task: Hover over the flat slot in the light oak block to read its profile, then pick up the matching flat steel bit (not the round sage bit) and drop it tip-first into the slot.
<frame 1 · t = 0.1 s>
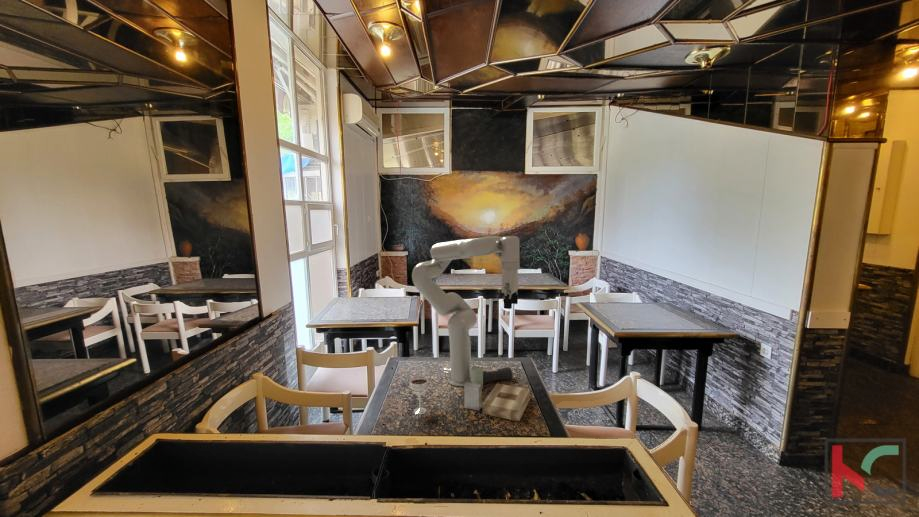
hand: (510, 306, 143), 37 cm above the table, fingers open, 9 cm apart
socket block: (507, 405, 132), on the table
flashlight: (496, 381, 155), on the table
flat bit: (473, 407, 132), on the table
wineglass: (420, 411, 130), on the table
round bit: (477, 388, 147), on the table
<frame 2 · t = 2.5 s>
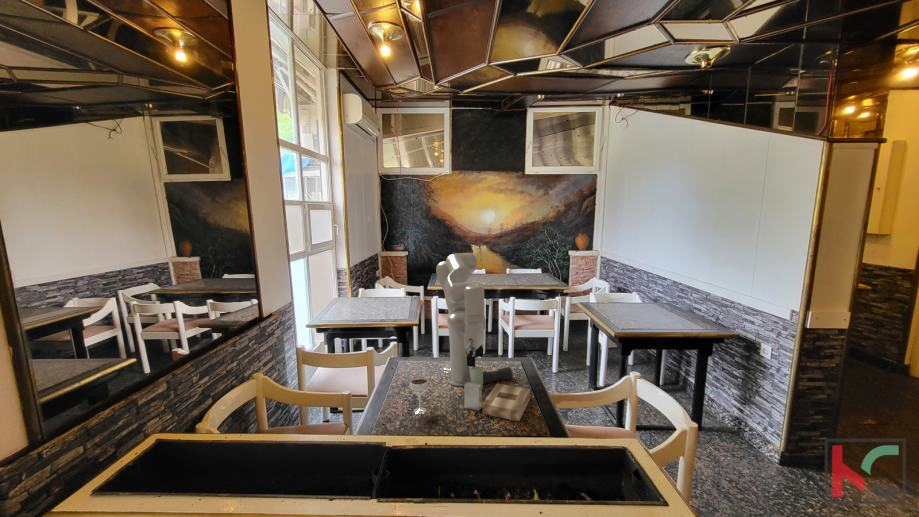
hand: (475, 361, 130), 18 cm above the table, fingers open, 9 cm apart
nothing on the table moved.
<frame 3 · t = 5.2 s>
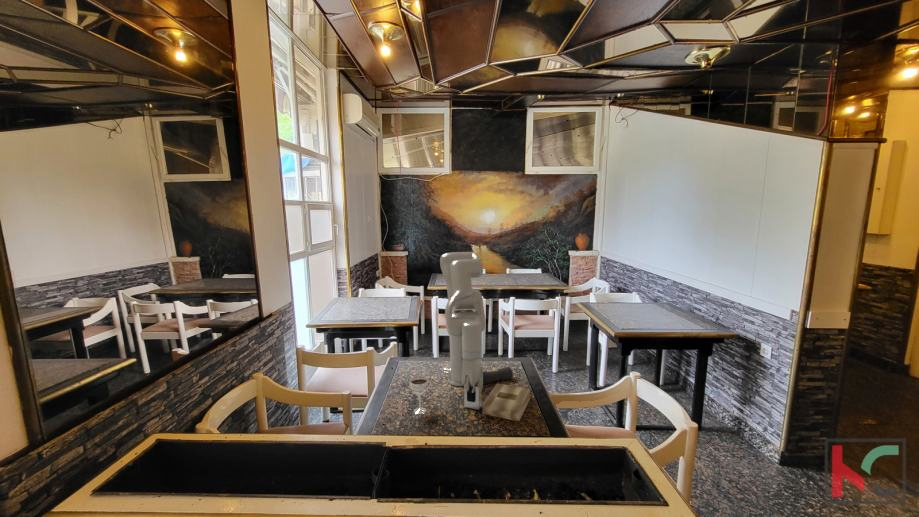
hand: (472, 398, 132), 3 cm above the table, fingers closed on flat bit, 3 cm apart
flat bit: (473, 406, 132), on the table, touching gripper
everything else where it was.
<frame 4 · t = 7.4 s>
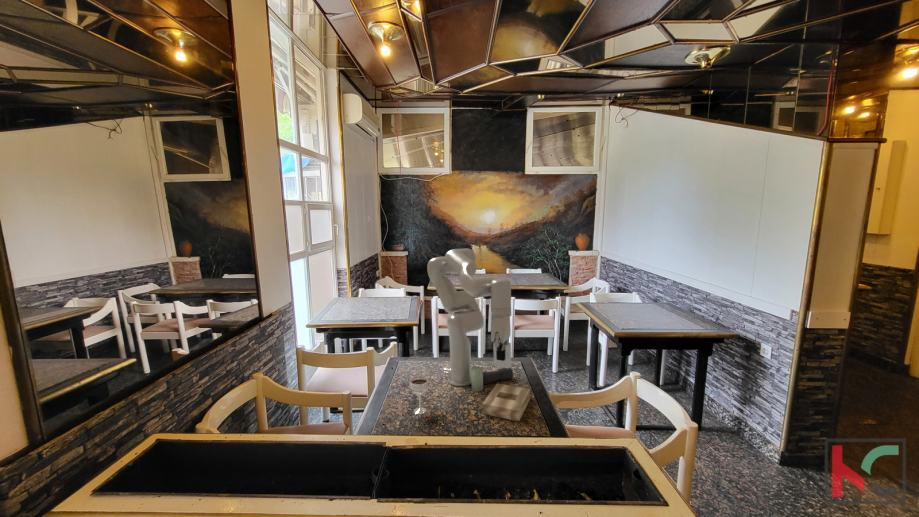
hand: (502, 357, 130), 19 cm above the table, fingers closed on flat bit, 3 cm apart
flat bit: (502, 365, 130), point 16 cm above the table, touching gripper
everything else where it was.
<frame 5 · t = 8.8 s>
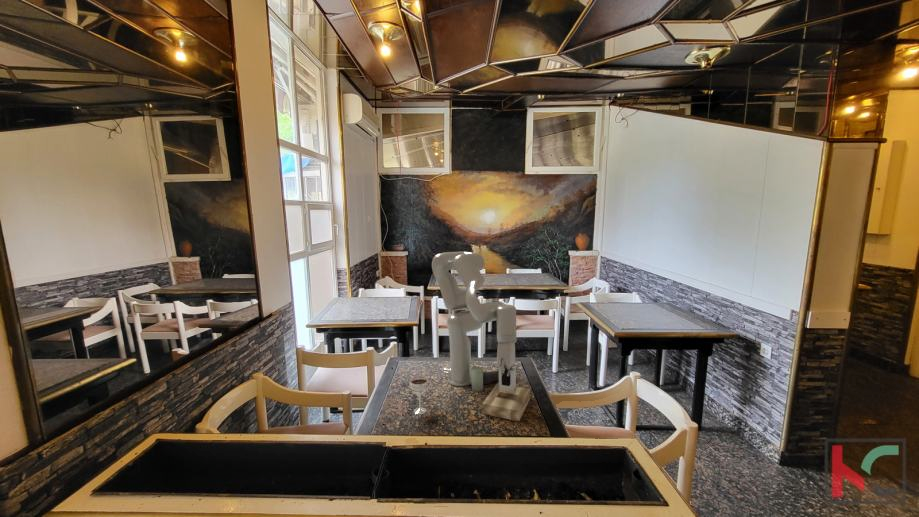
hand: (507, 382, 131), 9 cm above the table, fingers closed on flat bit, 3 cm apart
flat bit: (507, 390, 131), point 6 cm above the table, touching gripper
everything else where it was.
when the fingers open (5 cm above the table, at t = 10.1 s): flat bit drops 2 cm, resting in socket block.
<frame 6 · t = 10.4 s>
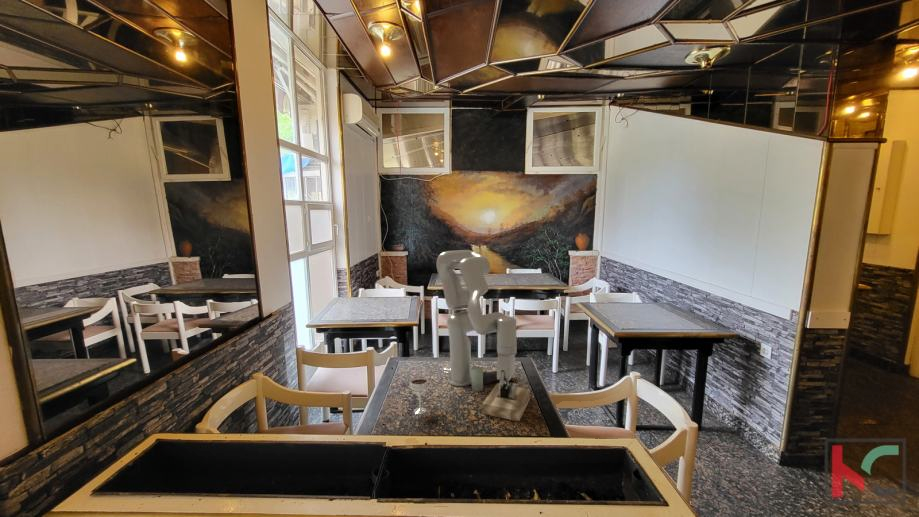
hand: (507, 393, 132), 5 cm above the table, fingers open, 6 cm apart
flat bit: (507, 405, 132), resting in socket block
everything else where it was.
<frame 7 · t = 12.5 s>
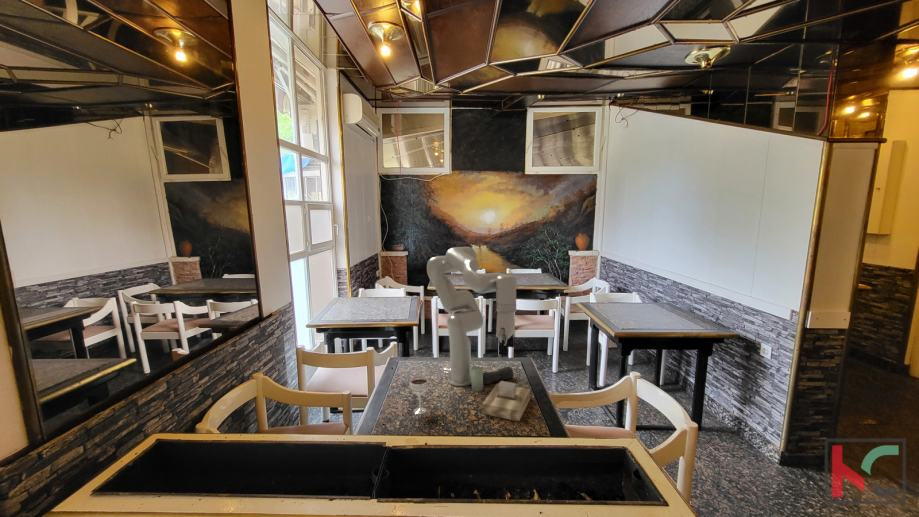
hand: (506, 350, 130), 22 cm above the table, fingers open, 9 cm apart
nothing on the table moved.
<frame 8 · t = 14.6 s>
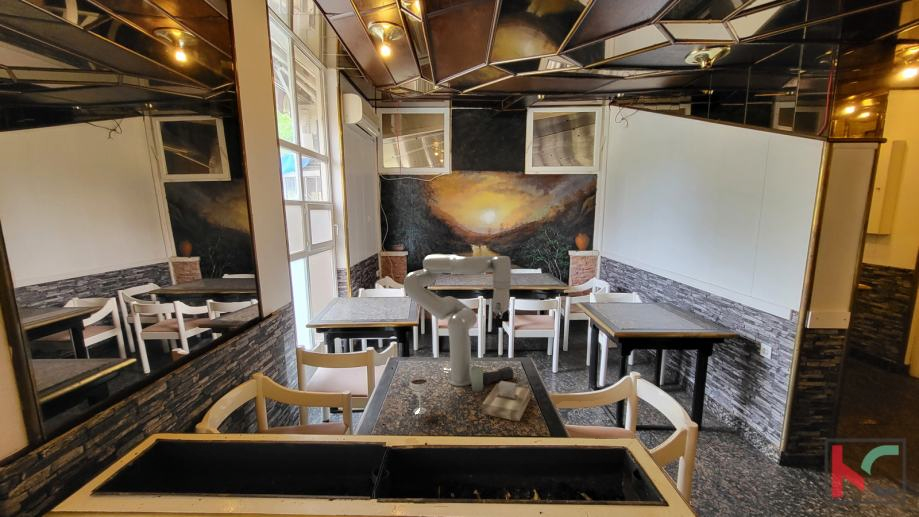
hand: (502, 324, 145), 28 cm above the table, fingers open, 9 cm apart
nothing on the table moved.
at the end: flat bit 0.1 cm off-centre on the socket block, point 0.0 cm above the socket block's base; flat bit tilted 0°; round bit moved 0.0 cm from its start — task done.
